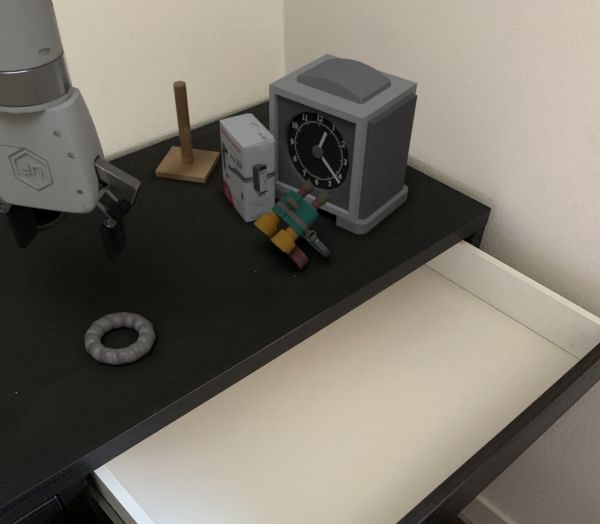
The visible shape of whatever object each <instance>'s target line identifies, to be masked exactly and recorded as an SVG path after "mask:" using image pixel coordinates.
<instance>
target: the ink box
mask: <svg viewBox="0 0 600 524" xmlns="http://www.w3.org/2000/svg"><path fill="white" fill-rule="evenodd" d="M219 132H220V133H219V134H220V135H219V136H220V147H221V148H220V149H221V164H222V181H223V182H222V183H223V195H224V196H225V198H226V199H227V200H228V201H229V202H230V204H231V205H232V206H233V208H234V209H235V210H236V211H237V213H238V214H239V215H240V217H241V218H242V219H243V220H244V222H245V223H250V222H255V221H256V220H258V219H259V218H260V217H261V216H262V215H263V214H264V213H266V214H267V215H269V214H270V213H271V212H272V208H273V207H274V206H275V205H276V198H275V139H274V136H273V135H272V134H271V133H270V130H268V129H267V128H266V127H265V125H264V124H262V123H261V122H260V121H259V119H258V118H257V117H255V115H254V114H253V113H250V112H249V113H248V112H247V113H244V114H240V115H239V114H238V115H234V116H230V117H226V118H222V119H219Z"/></svg>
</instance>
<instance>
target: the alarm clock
mask: <svg viewBox="0 0 600 524" xmlns="http://www.w3.org/2000/svg"><path fill="white" fill-rule="evenodd" d="M417 88H418V82H416V81H412V80H409V79H406V78H402V77H400V76H396V75H394V74H390V73H387V72H385V71H381V70H379V69H376V68H374V67H373V66H371V65H369V64H366V63H364V62H362V61H359V60H355V59H351V58H342V57H339V56H336V55H333V54H329V53H326V54H324V55H322V56H320V57H318V58H316V59H313V60H312V61H310V62H308V63H307V64H305V65H302V66H301V67H300V68H297V69H295V70H293V71H292V72H289V73H288V74H286V75H284V76H283V77H280V78H279V79H277V80H275V81H273V82H271V83H269V84H268V111H269V112H268V113H269V114H268V115H269V117H268V118H269V120H268V121H269V122H268V123H269V132H270V133H271V134H272V135H273V136H274V139H275V199H277V200H278V201H280V200H281V199H282V198H283V197H284V196H285V195H287V194H288V193H289V192H290V191H291V190H294V191H295V192H296V193H297V192H298V191H299V190H300V189H301V188H302V185H303V184H304V183H305V182H306V181H307V180H308V179H310V180H311V182H312V185H313V187H314V188H315V189H314V190H313V191H312V192H311V193H310V194H308V195H307V196H306V197H305V198H304V200H306V201H307V202H308V203H309V204H311V203H312V202H313V201H314V200H315V199H316V198H315V197H316V196H317V195H318V194H319V193H320V192H324V193H326V194H328V195H330V196H331V199H330V200H329V201H328V202H327V203H326V204H325V205H324V206H321V207H320V208H319V209H320V210H323V211H326V212H328V213H330V214H333V215H334V216H336V220H335V225H336V226H337V227H340V228H341V229H344V230H346V231H348V232H351V233H353V234H355V235H366V234H368V233H369V232H370V231H371V230H372V229H373V228H375V227H376V226H377V225H378V224H379V223H380V222H382V221H383V220H384V219H385V218H387V217H388V216H389V215H390V214H392V213H393V212H394V211H395V210H396V209H398V208H399V207H400V206H402V204H404V203H405V202H406V201H407V199H408V194H409V187H408V185H407V184H405V180H406V172H407V166H408V160H409V153H410V147H411V139H412V134H413V127H414V120H415V115H416V107H417V102H418V95H417Z"/></svg>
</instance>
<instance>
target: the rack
mask: <svg viewBox="0 0 600 524" xmlns="http://www.w3.org/2000/svg"><path fill="white" fill-rule="evenodd" d="M172 86H173V87H172V88H173V95H174V103H175V111H176V121H177V129H178V137H179V145H180V146H175V145H172V146H171V147H170V149H169V150H168V151H167V153H166V154H165V156H164V157H163V158H162V160H161V162H160V163H159V164H158V166H157V168H156V169H155V171H154V172H155V173H154V174H155V177H156V178H163V179H170V180H171V179H172V180H178V181H185V182H193V183H199V184H207V181H208V180H209V178H210V176H211V174H212V173H213V171H214V170H215V168H216V166H217V164H218V163H219V161H220V159H221V152H220V151H214V150H205V149H197V148H193V140H192V139H193V137H192V130H191V120H190V111H189V100H188V90H187V83H186V82H185V81H183V80H176V81H174V82H173V83H172Z"/></svg>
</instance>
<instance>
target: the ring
mask: <svg viewBox="0 0 600 524" xmlns="http://www.w3.org/2000/svg"><path fill="white" fill-rule="evenodd" d="M121 328H127V329H133V330H135V331H136V332H137V333H138V338H137V340H136V341H135V342H133V343H132V344H130V345H129V346H126V347H120V348H112V347H107V346H105V345H104V344H103V343H102V339H103V337H104V335H106V334H107V333H109V332H111V331H112V330H115V329H116V330H117V329H121ZM156 339H157V337H156V333H155V329H154V325H153V323H152V322H151V321H149V320H148V319H146V318H145V316H143V315H141V314H138V313H133V312H127V311H120V312H119V311H118V312H114V313H109V314H105V315H104V316H102V317H100V318H98V319H97V320H95V321H94V322H92V323H90V326H89V327H88V329H87V331H86V332H85V334H84V336H83V340H84V346H85V351H86V353H87V354H88V355H90V356H91V357H92V358H93V359H94V360H96V361H97V362H99V363H101V364H108V365H111V366H112V365H113V366H120V365H125V364H131V363H135V362H137V361H138V360H140V359H141V358H142V357H144V356H146V355H147V354H148V353H150V352H151V349H152V347H153V346H154V343H155V341H156Z"/></svg>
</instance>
